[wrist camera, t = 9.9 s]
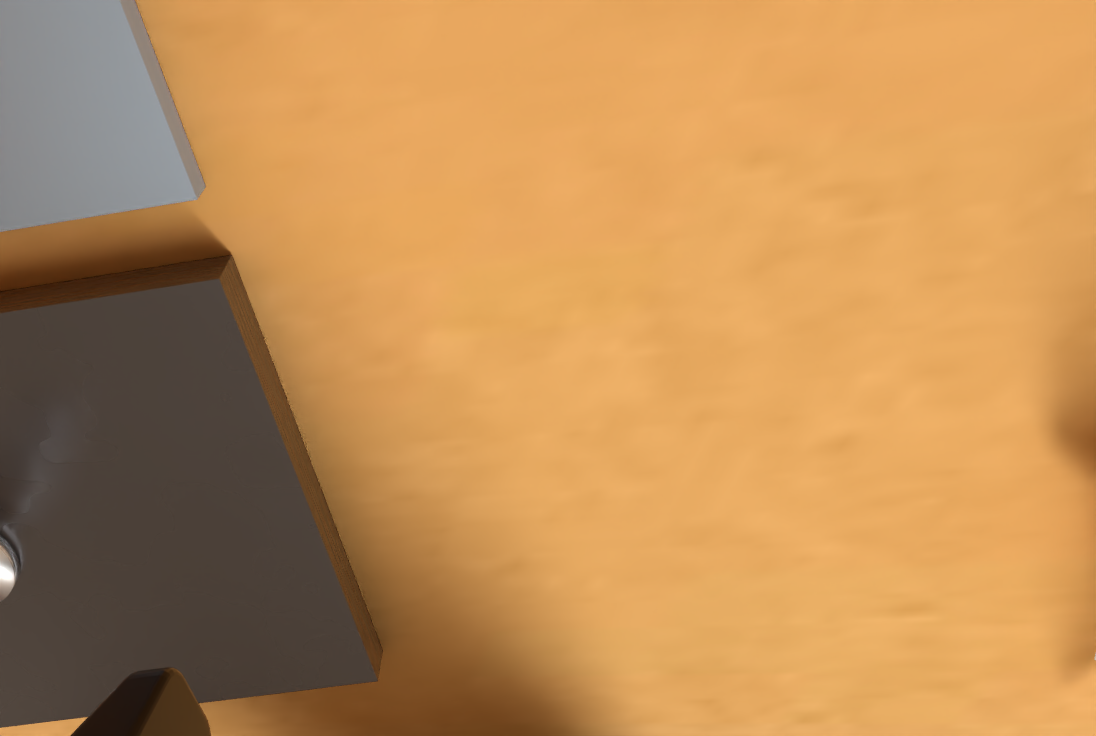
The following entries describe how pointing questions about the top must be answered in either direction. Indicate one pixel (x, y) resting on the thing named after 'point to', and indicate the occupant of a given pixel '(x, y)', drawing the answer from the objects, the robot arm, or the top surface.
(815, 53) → the top surface
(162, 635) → the peg stand
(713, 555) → the top surface
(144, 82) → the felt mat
